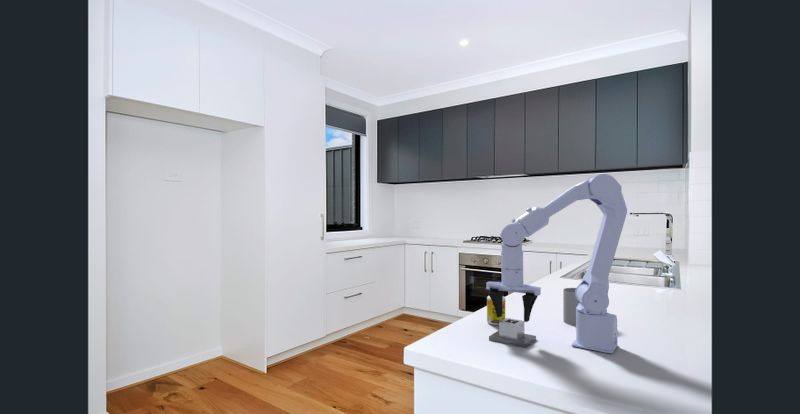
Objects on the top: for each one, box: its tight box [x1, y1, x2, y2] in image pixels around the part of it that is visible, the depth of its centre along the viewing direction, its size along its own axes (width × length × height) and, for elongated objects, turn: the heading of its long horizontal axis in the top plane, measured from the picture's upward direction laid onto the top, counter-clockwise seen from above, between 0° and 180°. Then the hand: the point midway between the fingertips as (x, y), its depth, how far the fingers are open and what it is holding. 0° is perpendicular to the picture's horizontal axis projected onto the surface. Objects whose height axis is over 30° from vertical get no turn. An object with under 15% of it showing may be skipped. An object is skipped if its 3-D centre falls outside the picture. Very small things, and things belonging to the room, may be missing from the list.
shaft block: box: [488, 320, 537, 349], centre depth 107 cm, size 10×8×5 cm
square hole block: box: [498, 317, 525, 340], centre depth 107 cm, size 5×5×4 cm
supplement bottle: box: [486, 295, 506, 326], centre depth 123 cm, size 6×6×10 cm
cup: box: [562, 287, 579, 327], centre depth 123 cm, size 8×8×10 cm
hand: (512, 318), depth 107 cm, fingers open, 7 cm apart
